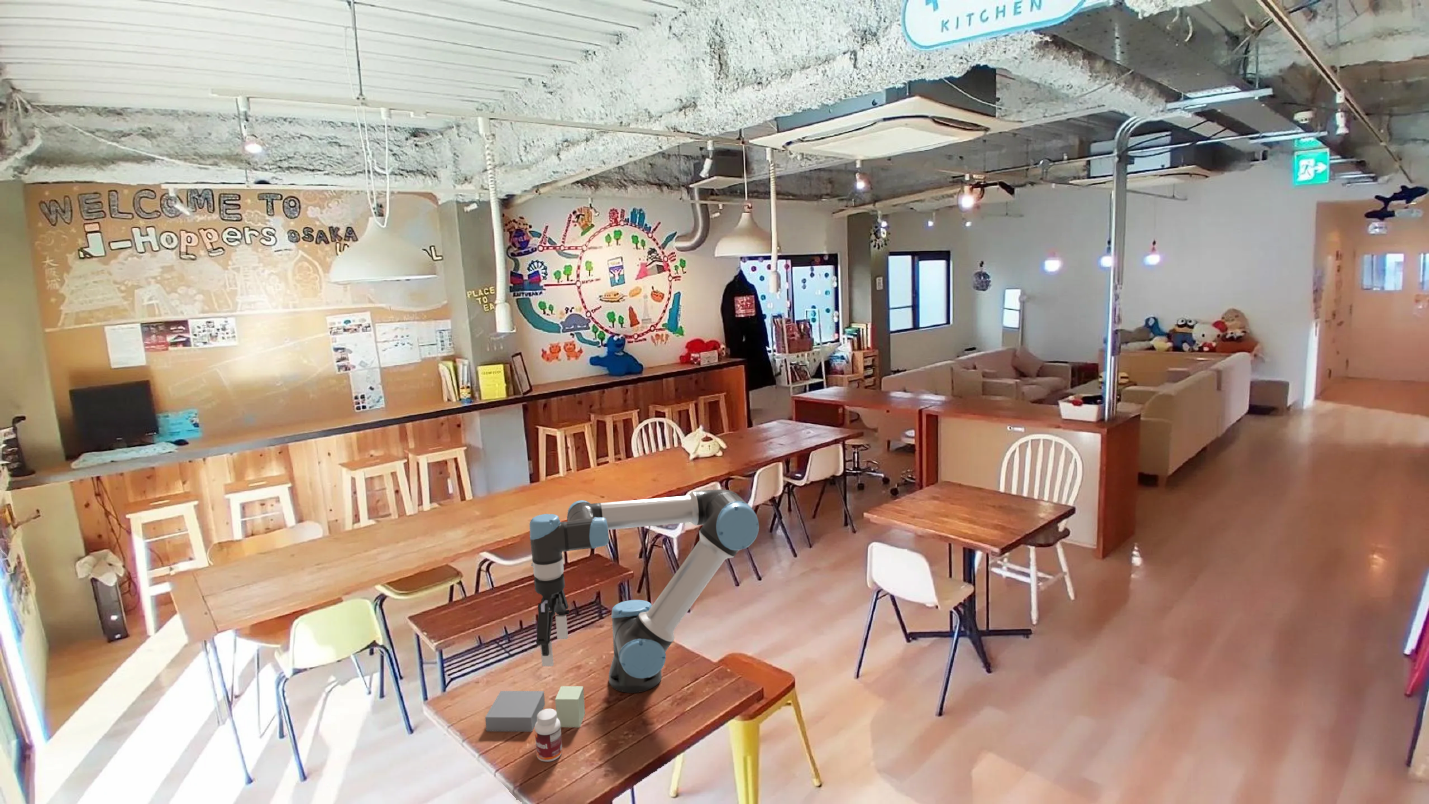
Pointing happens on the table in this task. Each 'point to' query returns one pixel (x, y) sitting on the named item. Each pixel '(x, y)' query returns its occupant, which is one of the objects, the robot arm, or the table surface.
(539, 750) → the pill bottle
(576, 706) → the sage block
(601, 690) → the table surface
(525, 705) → the slate block
